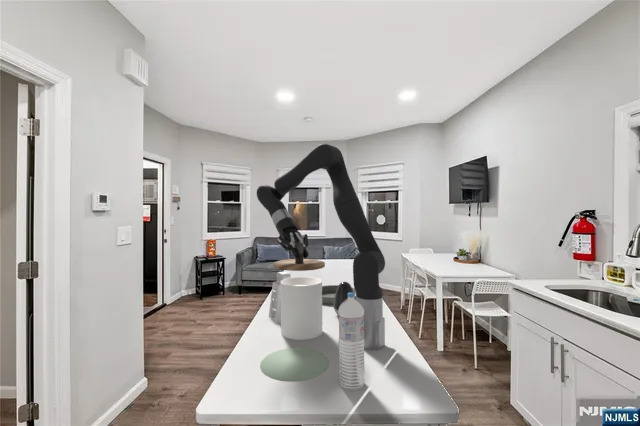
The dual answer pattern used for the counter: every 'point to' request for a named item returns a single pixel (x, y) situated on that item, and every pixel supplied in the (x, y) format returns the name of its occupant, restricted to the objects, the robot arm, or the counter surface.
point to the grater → (277, 297)
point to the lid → (299, 262)
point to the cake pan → (330, 293)
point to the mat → (294, 364)
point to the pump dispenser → (341, 295)
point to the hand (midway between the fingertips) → (302, 257)
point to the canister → (301, 308)
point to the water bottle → (351, 344)
